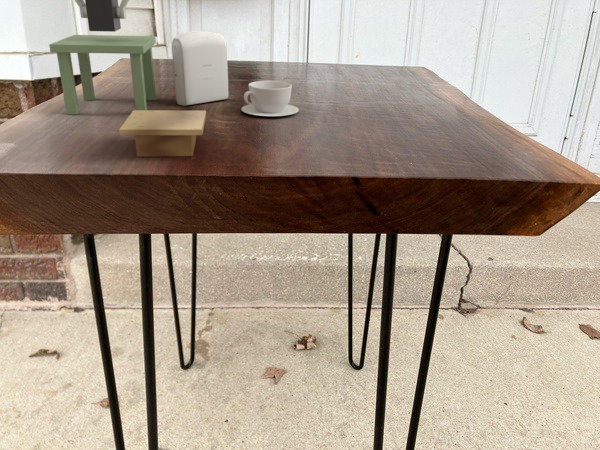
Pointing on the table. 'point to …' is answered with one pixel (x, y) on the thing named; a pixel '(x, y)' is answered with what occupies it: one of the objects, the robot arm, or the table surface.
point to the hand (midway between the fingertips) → (103, 18)
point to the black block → (102, 15)
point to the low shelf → (164, 131)
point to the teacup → (269, 99)
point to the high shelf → (105, 44)
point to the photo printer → (200, 67)
